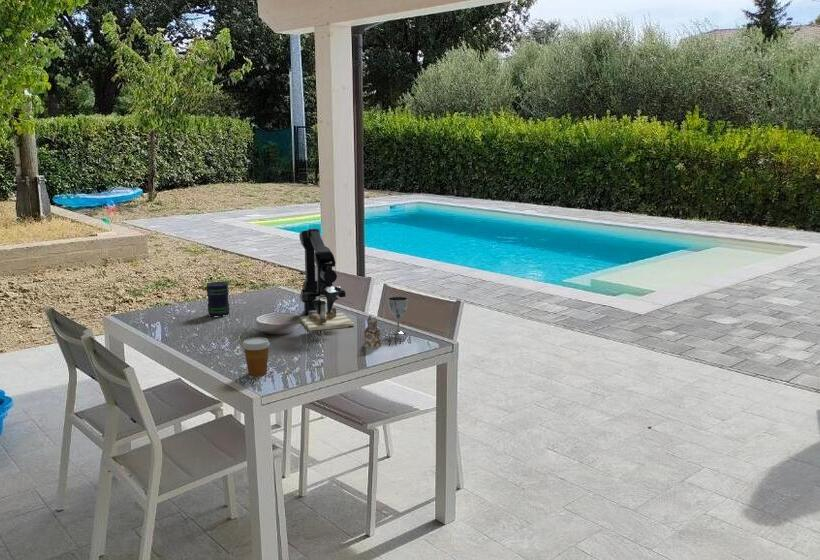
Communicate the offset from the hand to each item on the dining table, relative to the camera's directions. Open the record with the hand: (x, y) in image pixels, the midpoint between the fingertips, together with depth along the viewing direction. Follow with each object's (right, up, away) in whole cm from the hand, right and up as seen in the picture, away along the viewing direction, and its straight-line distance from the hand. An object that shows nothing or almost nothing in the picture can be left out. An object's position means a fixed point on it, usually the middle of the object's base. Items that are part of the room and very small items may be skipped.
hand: (324, 314), depth 330 cm
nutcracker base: (0, -5, +8) cm, 9 cm away
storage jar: (-52, -2, +26) cm, 58 cm away
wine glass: (+33, -8, -9) cm, 35 cm away
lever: (-4, -3, +6) cm, 8 cm away
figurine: (+22, -12, -28) cm, 38 cm away
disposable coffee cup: (-17, -19, -61) cm, 66 cm away
